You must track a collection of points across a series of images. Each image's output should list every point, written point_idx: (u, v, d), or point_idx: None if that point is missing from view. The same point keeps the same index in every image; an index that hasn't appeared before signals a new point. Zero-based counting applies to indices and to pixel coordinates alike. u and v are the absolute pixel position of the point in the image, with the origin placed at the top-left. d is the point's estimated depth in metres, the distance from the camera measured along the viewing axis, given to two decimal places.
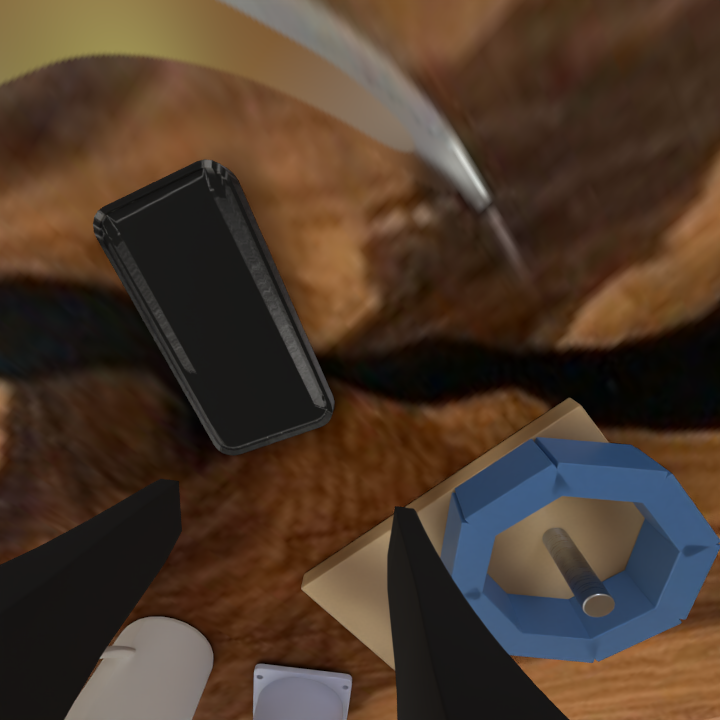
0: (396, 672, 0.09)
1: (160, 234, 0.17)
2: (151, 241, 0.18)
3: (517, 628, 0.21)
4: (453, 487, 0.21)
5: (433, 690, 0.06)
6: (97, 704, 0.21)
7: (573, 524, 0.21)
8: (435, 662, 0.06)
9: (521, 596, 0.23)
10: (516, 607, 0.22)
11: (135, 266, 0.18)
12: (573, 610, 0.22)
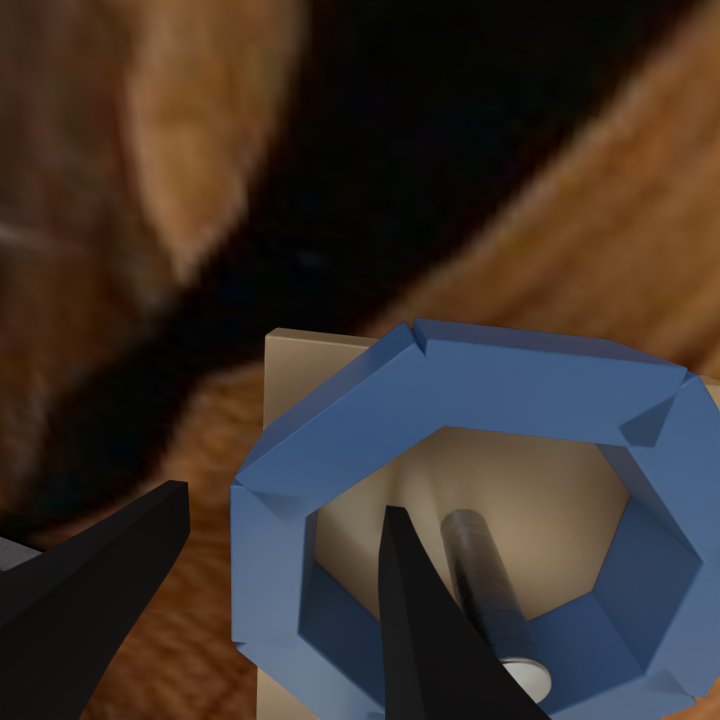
0: (384, 671, 0.09)
1: None
2: None
3: None
4: None
5: (415, 688, 0.06)
6: None
7: (467, 492, 0.11)
8: (418, 660, 0.06)
9: None
10: None
11: None
12: (602, 615, 0.11)
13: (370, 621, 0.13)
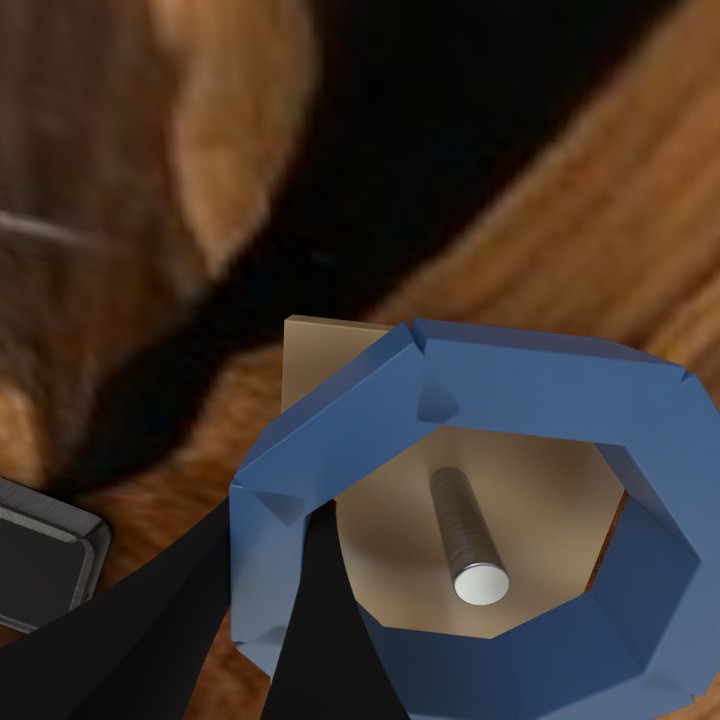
0: None
1: None
2: None
3: None
4: None
5: None
6: None
7: (451, 452, 0.13)
8: (286, 644, 0.06)
9: (513, 632, 0.13)
10: (505, 664, 0.12)
11: None
12: (601, 614, 0.11)
13: (369, 621, 0.13)
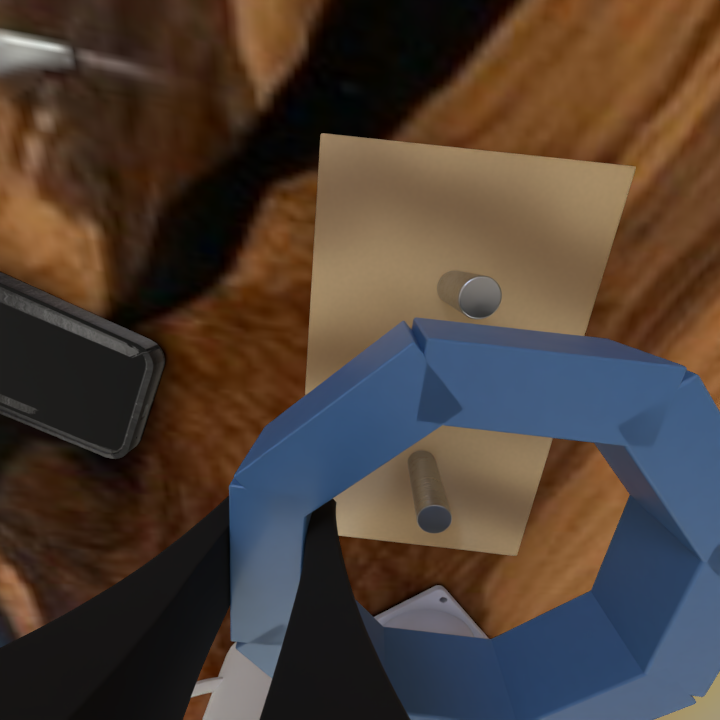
0: None
1: None
2: None
3: None
4: (309, 326, 0.18)
5: None
6: None
7: (455, 256, 0.16)
8: (285, 644, 0.06)
9: (513, 632, 0.13)
10: (506, 664, 0.12)
11: None
12: (601, 614, 0.11)
13: (369, 621, 0.13)
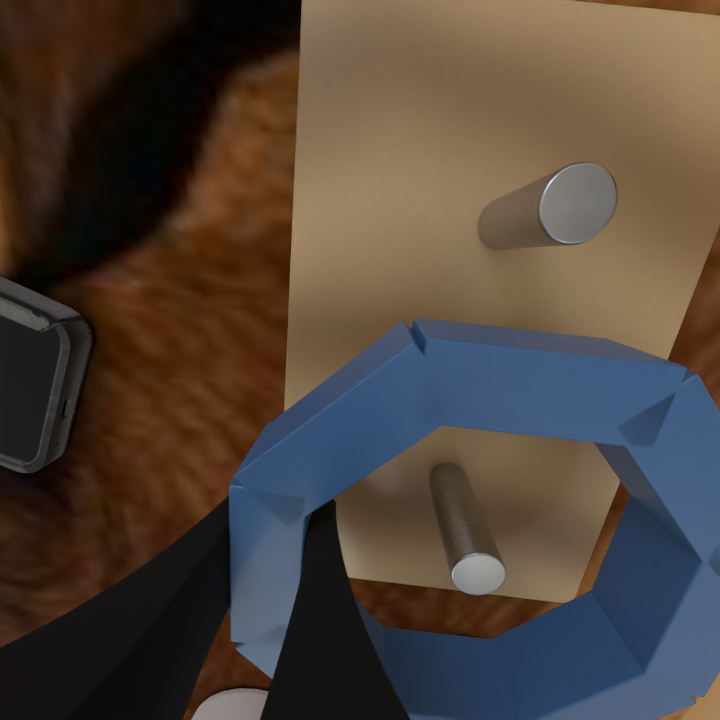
0: None
1: None
2: None
3: None
4: None
5: None
6: None
7: (507, 176, 0.11)
8: (286, 644, 0.06)
9: (513, 632, 0.13)
10: (506, 664, 0.12)
11: None
12: (601, 614, 0.11)
13: (369, 621, 0.13)
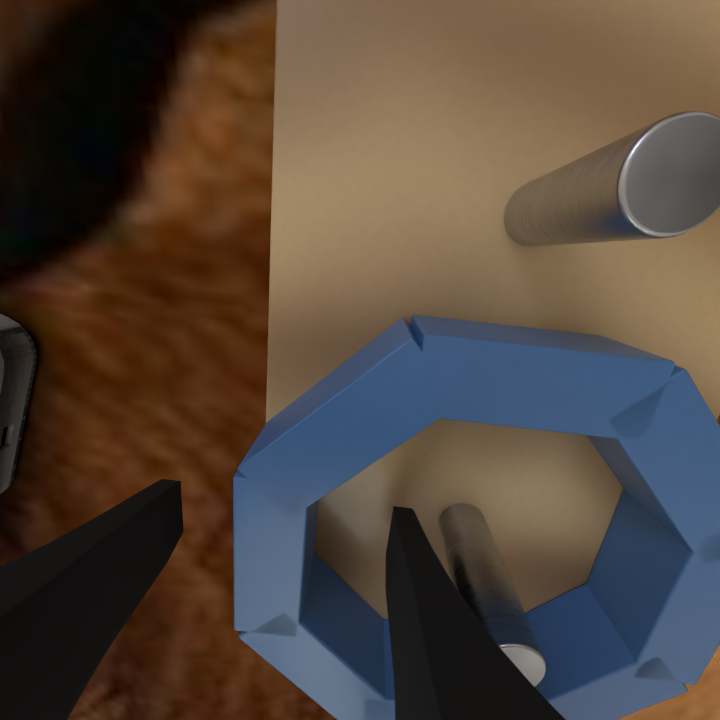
0: (394, 672, 0.09)
1: None
2: None
3: None
4: (269, 290, 0.10)
5: (429, 689, 0.06)
6: None
7: (543, 153, 0.09)
8: (432, 661, 0.06)
9: None
10: None
11: None
12: (596, 605, 0.12)
13: (369, 613, 0.13)
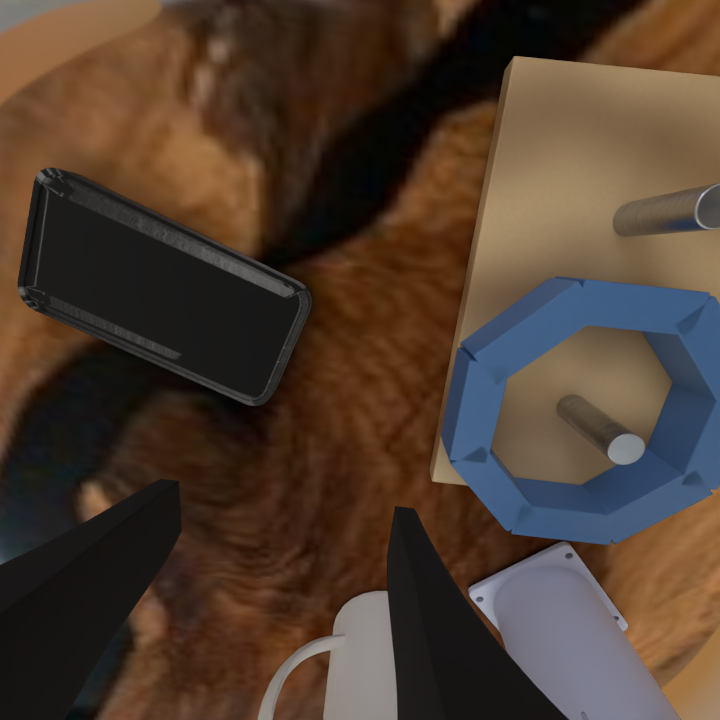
0: (396, 672, 0.09)
1: (65, 265, 0.18)
2: (65, 277, 0.19)
3: (599, 514, 0.18)
4: (473, 262, 0.17)
5: (433, 690, 0.06)
6: (337, 691, 0.21)
7: (636, 186, 0.16)
8: (435, 662, 0.06)
9: (596, 478, 0.20)
10: (595, 492, 0.20)
11: (73, 308, 0.19)
12: (654, 456, 0.19)
13: (508, 470, 0.20)
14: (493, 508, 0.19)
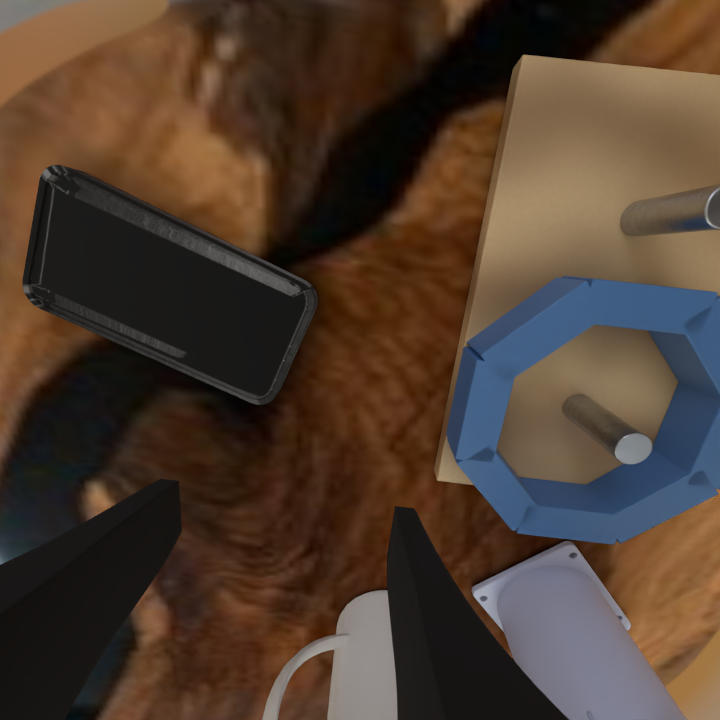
0: (396, 672, 0.09)
1: (70, 263, 0.18)
2: (70, 275, 0.18)
3: (605, 513, 0.18)
4: (480, 261, 0.17)
5: (433, 690, 0.06)
6: (341, 691, 0.21)
7: (644, 186, 0.16)
8: (435, 662, 0.06)
9: (601, 478, 0.21)
10: (600, 492, 0.20)
11: (78, 306, 0.19)
12: (660, 456, 0.19)
13: None
14: (499, 507, 0.19)
